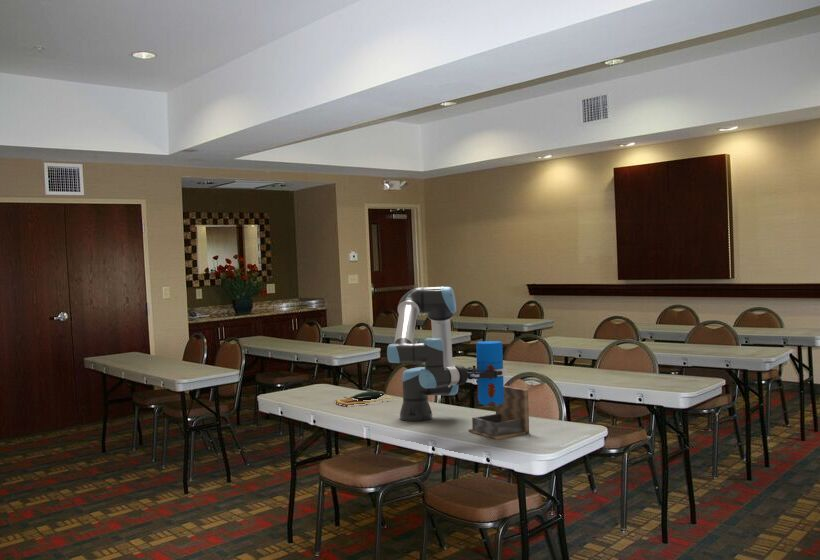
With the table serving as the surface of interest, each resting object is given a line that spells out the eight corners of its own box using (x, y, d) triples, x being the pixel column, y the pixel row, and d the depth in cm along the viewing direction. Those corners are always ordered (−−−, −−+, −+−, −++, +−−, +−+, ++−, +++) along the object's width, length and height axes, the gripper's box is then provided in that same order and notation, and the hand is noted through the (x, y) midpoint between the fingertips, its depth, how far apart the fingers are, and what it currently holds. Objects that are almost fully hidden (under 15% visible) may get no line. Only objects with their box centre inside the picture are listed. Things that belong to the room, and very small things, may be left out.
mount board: (468, 431, 298) (467, 389, 298) (499, 426, 307) (498, 384, 307) (497, 439, 282) (495, 394, 282) (529, 433, 291) (528, 389, 291)
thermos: (479, 405, 287) (477, 344, 287) (476, 400, 298) (474, 341, 298) (505, 404, 287) (504, 343, 287) (502, 400, 298) (500, 340, 298)
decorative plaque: (381, 384, 393) (397, 388, 375) (381, 397, 393) (398, 402, 375) (330, 389, 378) (344, 394, 361) (330, 403, 378) (345, 408, 361)
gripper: (438, 381, 293) (480, 376, 304) (472, 388, 273) (516, 382, 285) (438, 363, 293) (480, 359, 304) (472, 369, 273) (515, 363, 284)
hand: (497, 370), depth 294 cm, fingers closed on thermos, 11 cm apart
